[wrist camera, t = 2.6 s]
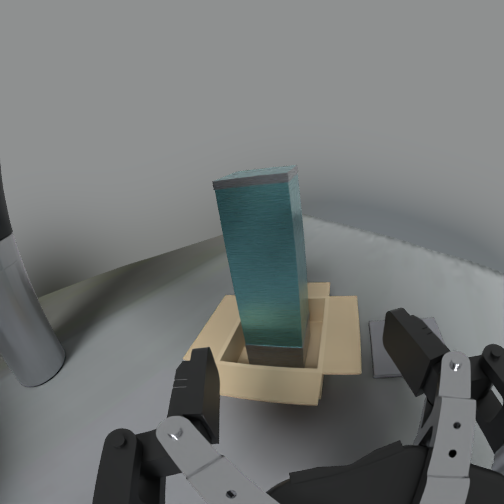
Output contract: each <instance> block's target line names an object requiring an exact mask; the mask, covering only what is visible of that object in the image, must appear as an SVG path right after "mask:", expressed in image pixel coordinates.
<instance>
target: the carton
mask: <svg viewBox="0 0 504 504" xmlns="http://www.w3.org/2000/svg"><path fill="white" fill-rule="evenodd" d="M307 286H308V305H309V314H310V340H309V346H308V352H307V357H306V363H305V368H288V367H273V366H261V365H251V364H249V360H248V356H247V351H246V347H245V339H244V334H243V330H242V325H241V320H240V316H239V311H238V306H237V301H236V297H235V295H225V297H224V298H223V300H222V301H221V303H220V304H219V306H218V307H217V309H216V310H215V312H214V313H213V315H212V316H211V317H210V319H209V320H208V322H207V323H206V325H205V326H204V328H203V329H202V331H201V332H200V334H199V335H198V337H197V338H196V340H195V341H194V343H193V344H192V346H191V347H190V349H189V350H188V352H187V353H186V355H185V356H184V358H183V359H184V360H187V361H190V358H191V352H192V349H195V348H204V347H210V349H211V351H212V354H213V357H214V360H215V363H216V366H217V369H218V372H219V377H220V395H223V396H229V397H235V398H241V399H248V400H256V401H264V402H273V403H283V404H295V405H312V406H318V399H321V394H322V387H323V379H324V374H325V375H359V374H361V346H360V328H359V314H358V303H357V296H329V292H330V282H319V283H307Z"/></svg>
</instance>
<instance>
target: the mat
mask: <svg viewBox="0 0 504 504" xmlns="http://www.w3.org/2000/svg"><path fill="white" fill-rule="evenodd" d="M420 319H422V320H423V321H424V322H425V324H426V325H427V326H428V328H430V329H431V330H432V331H433V333H435V334H436V336H437V337H438V338H439V339H440V340H441V341H442V342H443V343H444V341H443V338H442V336H441V333H440V331H439V328H438V326H437V323H436V321H435V318H434V317H432V318H420ZM384 324H385V320H383V321H369V328H370V337H371V347H372V359H373V374H374V378H381V377H398V376H402V374H401V373H400V371H399V370H398V368H397V367H396V365H395V364H394V362H393V360H392V359H391V357H390V356H389V354H388V353H387V351H386V350H385V348H384V345H383V340H382V337H383V331H384Z"/></svg>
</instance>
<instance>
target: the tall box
mask: <svg viewBox="0 0 504 504" xmlns="http://www.w3.org/2000/svg"><path fill="white" fill-rule="evenodd" d="M297 173H298V168H297V165H295V166H283V167H273V168H264V169H256V170H247V171H239V172H235V173H232V174H230V175H227V176H225V177H222V178H220V179H217V180H215V181H213V187H214V190H215V193H216V199H217V204H218V210H219V215H220V220H221V226H222V231H223V236H224V242H225V247H226V252H227V257H228V262H229V267H230V272H231V277H232V282H233V287H234V292H235V297H236V301H237V306H238V311H239V316H240V320H241V325H242V330H243V334H244V339H245V347H246V351H247V356H248V360H249V364H251V365H261V366H273V367H288V368H305V363H306V357H307V352H308V346H309V340H310V314H309V305H308V286H307V270H306V256H305V244H304V232H303V221H302V211H301V201H300V191H299V183H298V174H297Z"/></svg>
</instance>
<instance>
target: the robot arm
mask: <svg viewBox="0 0 504 504" xmlns="http://www.w3.org/2000/svg"><path fill="white" fill-rule="evenodd" d="M12 232H13V231H12V228H11V224H10V220H9V215H8V211H7V206H6V201H5V196H4V191H3V184H2V176H1V166H0V354H1V356H2V357H3V359H4V361H5V362H6V364H7V365H8V367H9V368H10V370H11V371H12V373H13V374H14V375H15V377H16V378H17V380H18V381H19V382H20V383H21V384H22V385H24V386H28V387H32V386H37V385H40V384H42V383H44V382H46V381H47V380H49V379H50V378H51V377H53V376H54V375H55V374H56V373H57V372H58V370H59V369H60V368H61V366H62V364H63V362H64V359H65V351H64V349H63V347H62V345H61V344H60V342H59V340H58V338H57V337H56V335H55V333H54V331H53V329H52V327H51V325H50V323H49V321H48V319H47V317H46V315H45V313H44V311H43V309H42V307H41V305H40V303H39V301H38V298H37V296H36V294H35V292H34V290H33V287H32V285H31V282H30V280H29V277H28V275H27V272H26V270H25V267H24V264H23V262H22V259H21V256H20V253H19V250H18V247H17V244H16V241H15V238H14V234H13V233H12ZM382 340H383V345H384V348H385V350H386V351H387V353H388V354H389V356H390V357H391V359H392V360H393V362H394V364H395V365H396V367H397V368H398V370H399V371H400V373H401V374H402V376H403V377H404V379H405V381H406V382H407V384H408V385H409V387H410V388H411V390H412V392H413V393H414V395H415V396H416V397H417V396H419V395H421V394H423V393H424V394H425V395H426V398H425V401H424V406H423V411H422V416H421V420H420V425H419V429H418V433H417V436H416V438H415V440H414V443H413V445H405V446H402V444H401V442H400V440H399V441H397V442H394V443H392V444H389V445H387V446H384V447H382V448H379V449H377V450H374V451H373V452H371V453H370V454H368V455H366V456H365V457H363V458H361V459H360V460H358V461H356V462H355V463H353V464H351V465H346V466H331V467H316V468H312V469H307V470H302V471H297V472H292V473H289V475H290V479H288V480H285V481H283V482H281V483H279V484H277V485H275V486H274V487H272V488H271V489H270V490H268V491H267V492H264V491H263V490H262V489H261V488H260V487H258V486H257V485H256V484H255V483H254V482H252V481H251V480H250V479H249V478H248V477H247V476H246V475H244V474H243V473H242V472H241V471H240V470H239V469H238V468H237V467H236V466H235V465H234V464H232V463H231V462H230V461H229V460H228V459H227V458H226V457H225V456H223V455H221V454H220V453H219V452H218V451H217V450H216V449H215V448H214V447H213V446H212V445H211V444H219V407H220V377H219V372H218V369H217V366H216V363H215V360H214V357H213V354H212V351H211V349H210V347H204V348H195V349H192V352H191V358H190V361H182V363H181V364H180V366H179V367H178V368H177V370H176V374H175V381H174V384H173V389H172V394H171V399H170V405H169V410H168V415H167V418H166V419H164V420H163V421H162V422H160V424H159V425H158V427H157V429H155V430H152V431H149V432H145V433H140V434H136V435H135V434H134V433H133V432H132V431H130V430H128V429H123V428H122V429H116V430H114V431H112V432H111V433H110V434H108V436H107V437H106V439H105V442H104V447H103V451H102V455H101V460H100V465H99V469H98V474H97V480H96V485H95V491H94V497H93V503H92V504H165V484H166V476H170V475H174V474H178V473H183V474H184V475H185V476H186V479H187V480H188V482H189V483H190V484H191V486H192V487H193V488H194V489H195V490H196V491H197V493H198V494H199V495H200V496H201V497H202V498H203V499H204V500H205V501H206V503H207V504H504V349H503V348H502V347H501V346H499V345H496V344H490V345H488V346H486V347H485V348H484V350H483V353H482V355H479V356H474V357H467V356H466V355H465V354H464V353H462V352H459V351H450V350H449V349H448V348H447V347H446V346H445V344H444V343H443V342H442V341H441V340H440V339H439V338H438V337H437V336H436V334H435V333H433V331H432V330H431V329H430V328H428V326H427V325H426V324H425V322H424V321H423V320H422V319H420V318H418V317H416V316H414V315H411V316H410V315H409V314H408V313H407V312H406V310H405V309H404V308H398V309H395V310H391V311H388V312H387V313H386V317H385V324H384V331H383V337H382ZM493 385H494V386H495V387H496V389H497V390H498V392H499V393H500V395H501V396H502V398H503V406H502V405H501V403H500V402H499V400H498V399H497V397H496V396H495V394H494V393H493V391H492V390H491V388H492V386H493ZM475 419H476V421H477V423H478V425H479V426H480V428H481V430H482V432H483V433H484V435H485V437H486V439H487V441H488V443H489V445H490V447H491V448H492V450H493V452H494V454H495V456H494V463H493V464H492V467H491V468H492V470H490V469H486V468H483V467H480V466H477V465H473V464H470V461H471V455H472V448H473V440H474V431H475Z"/></svg>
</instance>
